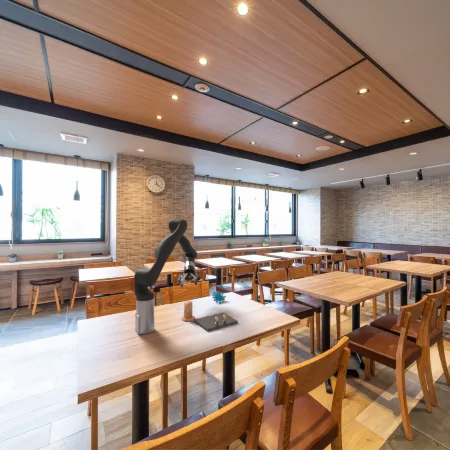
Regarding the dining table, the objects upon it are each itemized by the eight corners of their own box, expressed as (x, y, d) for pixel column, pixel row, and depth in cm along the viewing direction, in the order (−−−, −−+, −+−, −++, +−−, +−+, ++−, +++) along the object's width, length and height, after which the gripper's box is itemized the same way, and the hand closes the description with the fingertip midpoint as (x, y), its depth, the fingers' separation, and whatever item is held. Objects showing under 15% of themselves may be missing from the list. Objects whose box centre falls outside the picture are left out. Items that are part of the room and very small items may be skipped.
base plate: (207, 331, 128) (207, 321, 128) (194, 321, 142) (194, 312, 142) (237, 323, 139) (237, 313, 139) (222, 314, 153) (222, 306, 153)
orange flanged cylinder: (185, 322, 141) (184, 305, 141) (179, 318, 147) (179, 301, 147) (196, 319, 145) (196, 303, 145) (191, 315, 152) (191, 299, 152)
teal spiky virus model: (214, 302, 171) (211, 290, 177) (211, 307, 174) (208, 294, 181) (228, 302, 176) (224, 290, 182) (224, 306, 179) (221, 294, 186)
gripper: (178, 266, 165) (176, 282, 151) (198, 263, 166) (199, 279, 152) (180, 274, 169) (178, 291, 155) (200, 271, 170) (200, 288, 155)
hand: (188, 285), depth 153 cm, fingers open, 8 cm apart
